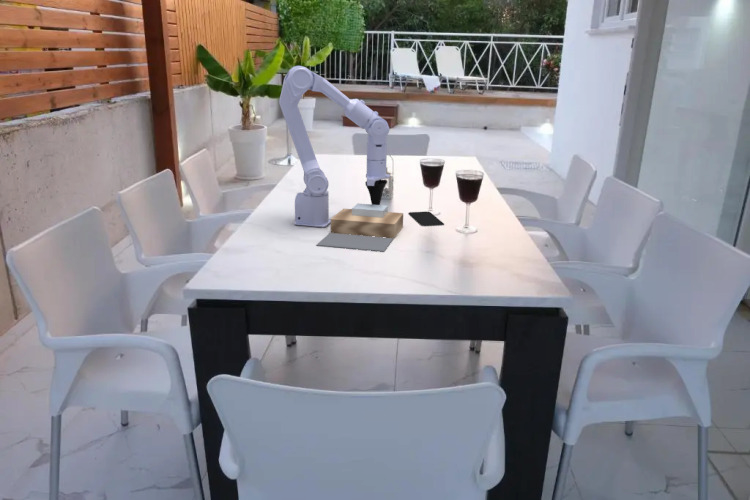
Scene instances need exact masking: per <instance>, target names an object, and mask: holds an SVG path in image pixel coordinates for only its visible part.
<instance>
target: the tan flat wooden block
mask: <svg viewBox="0 0 750 500" xmlns="http://www.w3.org/2000/svg"><path fill="white" fill-rule="evenodd" d="M330 219H331V223H330V233H337V234H348V235H349V234H351V235H363V236H371V237H372V236H375V237H382V238H383V237H386V238H393V239H395V238H396V237H397V235H398V234H399V233H400V231H401V230H402V228H404V213H403V212H394V211H388V213H387V214H386V215H385V216H384V217H383V218H380V217H368V216H355V215H352V208H342V209H341V210H339V212H338V213H336V214H335V215H333V216H332V217H331V218H330Z"/></svg>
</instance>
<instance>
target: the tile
mask: <svg viewBox="0 0 750 500" xmlns="http://www.w3.org/2000/svg"><path fill="white" fill-rule="evenodd" d="M351 209H352V215H355V216H368V217H380V218H383V217H384V216H385V215H386V214H387V213H388V212H389V205H383V204H380V205H372V203H370V204H369V203H359V202H358V203H356V204H355V205H354V206H352V208H351Z"/></svg>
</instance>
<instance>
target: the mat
mask: <svg viewBox="0 0 750 500" xmlns="http://www.w3.org/2000/svg"><path fill="white" fill-rule="evenodd" d="M393 241H394V238H383V237H372V236H360V235H349V234H338V233H331V232H329V233H328V234H327V235H325V237H323V238H322V239H321V240H320V241H318V243H316V245H315V246H316V247H324V248H325V247H326V248H334V249H335V248H336V249H345V248H346V250H347V249H349V250H356V249H358V250H357V251H367V250H371V251H370V252H377V251H380V253H385V252H386V251H387V249H388V248H389V246H390V245H391V244H392V242H393ZM390 243H391V244H390ZM387 247H388V248H387Z"/></svg>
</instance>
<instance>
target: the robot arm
mask: <svg viewBox="0 0 750 500" xmlns="http://www.w3.org/2000/svg"><path fill="white" fill-rule="evenodd" d="M308 90H310V91H312V92H317V93H322V94H323V95H325V96H326V97H327V98H328V99H330V100H331V101H333V102H334V103H335V104H337V106H340V107H341V108H342V109H343V111H344V116H345V117H346V118H347V119H349V120H350V121H352V123H355V125H356V126H357V127H360V128H361V129H363V130H365V132H366V134H367V138H366V139H367V142H366V173H365V178H366V181H365V186H366V188H367V191H368V193H369V198H370V204H372V205H381V201H382V196H383V193H384V188H385V187H386V185H387V183H388V180H386V179H388V178H389V179H390V177H391V174H388V173H387V160H388V159H387V155H388V154H387V153H388V151H387V150H388V143H387V139H388V137H387V136H388V135H389V133H390V130H391V129H390V127H389V124H388V122H387V120H386V119H384V118H383V117H381V115H379V112H378V111H376V110H375V111H373V109H371V108H370V107H369V106H367V105H366V102H365V101H364V100H363V99H360V100H359V99H358V98H353V99H350V98H349V97H348V96H347V95H345V94H344V93H343V92H341V90H339V89H338V88H337V87H335V86H334V85H333V84H332V83H331V82H329V80H327V79H326V78H325V77H323V76H320V75H319V74H317V73H316V72H313V71H311V70H310V69H309V68H307V67H305V66H302V65H295V66H292V67H291V68H290V69H289V71H287V73H286V75H285V77H284V79H283V83H282V87H281V93H280V96H279V101H278V102H279V106H280V109H281V112H282V115H283V118H284V120H285V123H286V126H287V129H288V131H289V133H290V137H291V139H292V142H293V145H294V148H295V150H296V153H297V156H298V159H299V160H300V164H301V167H302V170H303V182H304V184H305V188H304V189H303V192H297V193H296V195H295V198H294V223H293V224H294V225H295V226H303V227H306V226H307V227H316V228H317V227H318V228H326V227H327V226H329V225H331V218H330V217H329V216H330V215H329V214H330V213H329V212H330V210H329V207H330V206H329V205H330V203H329V191H328V189H329V186H330V185H329V180H328V177H326V175H325V173H324V171H323V170H322V169H321V168H320V165H319V163H318V160H317V157H316V154H315V152H314V148H313V146H312V143H311V140H310V138H309V137H310V136H309V134H308V131H307V129H306V125H305V123H304V120H303V118H302V115H301V112H300V108H299V106H298V105H299V103H300V101H301V100H302V98H303V95H304V94H305V93H307V91H308Z"/></svg>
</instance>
